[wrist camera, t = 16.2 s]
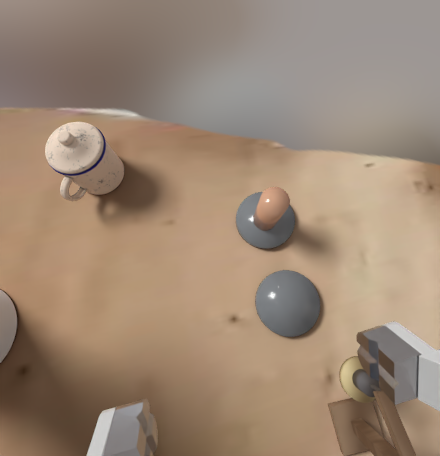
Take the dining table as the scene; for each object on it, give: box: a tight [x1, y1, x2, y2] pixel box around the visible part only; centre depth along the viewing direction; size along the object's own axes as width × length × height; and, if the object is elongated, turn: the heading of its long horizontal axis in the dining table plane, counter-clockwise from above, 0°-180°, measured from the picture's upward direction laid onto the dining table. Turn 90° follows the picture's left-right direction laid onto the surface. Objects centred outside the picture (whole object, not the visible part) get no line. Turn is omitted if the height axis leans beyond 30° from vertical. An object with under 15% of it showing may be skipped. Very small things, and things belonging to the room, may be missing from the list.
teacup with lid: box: [45, 122, 124, 201], centre depth 41 cm, size 12×9×12 cm
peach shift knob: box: [253, 187, 290, 231], centre depth 38 cm, size 4×4×9 cm
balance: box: [328, 356, 416, 456], centre depth 29 cm, size 6×21×15 cm, turn 12°
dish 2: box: [255, 270, 320, 337], centre depth 40 cm, size 10×10×1 cm
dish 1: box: [236, 192, 295, 249], centre depth 43 cm, size 10×10×1 cm
